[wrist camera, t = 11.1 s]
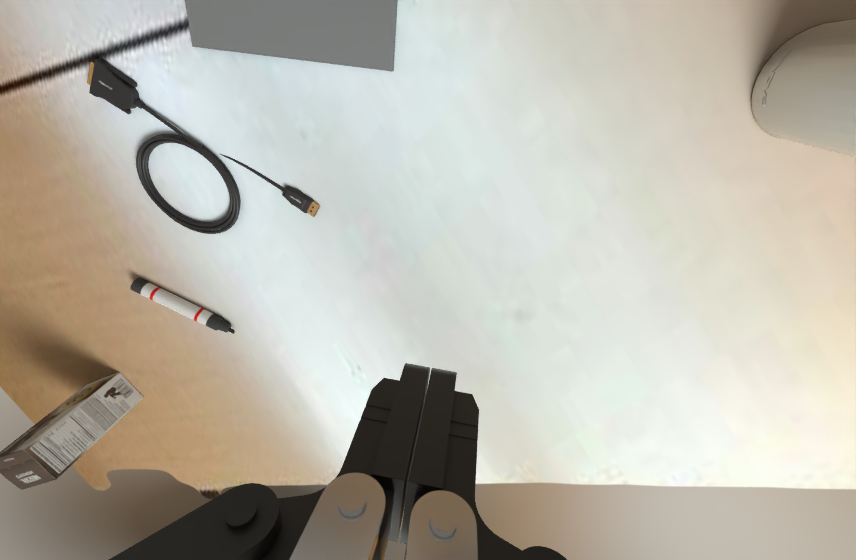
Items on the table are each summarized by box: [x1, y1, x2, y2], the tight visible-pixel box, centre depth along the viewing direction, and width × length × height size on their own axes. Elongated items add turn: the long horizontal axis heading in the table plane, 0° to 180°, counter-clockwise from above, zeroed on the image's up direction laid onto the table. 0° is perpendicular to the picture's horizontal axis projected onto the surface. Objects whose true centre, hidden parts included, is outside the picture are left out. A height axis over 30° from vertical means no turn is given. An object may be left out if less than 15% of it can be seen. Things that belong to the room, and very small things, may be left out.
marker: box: [131, 278, 234, 334], centre depth 57 cm, size 15×2×2 cm, turn 63°
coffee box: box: [0, 372, 143, 489], centre depth 63 cm, size 9×6×16 cm
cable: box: [87, 59, 320, 234], centre depth 48 cm, size 14×28×2 cm, turn 56°
